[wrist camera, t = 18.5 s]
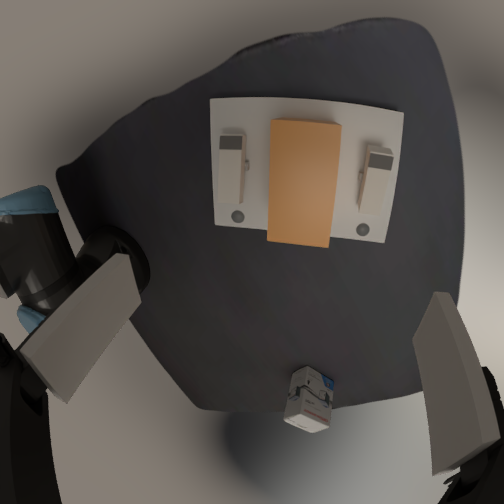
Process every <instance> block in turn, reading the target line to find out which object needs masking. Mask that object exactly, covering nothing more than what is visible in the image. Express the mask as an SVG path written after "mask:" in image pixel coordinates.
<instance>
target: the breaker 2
mask: <svg viewBox="0 0 504 504" xmlns="http://www.w3.org/2000/svg"><path fill="white" fill-rule="evenodd" d="M393 159H394V154H393V153H392V151H391V149H390V148H385V147H379V146H373V145H368V148H367V154H366V161H365V167H364V173H363V178H362V184H361V189H360V194H359V199H358V204H357V205H358V211H359V213H361V214H369V215H376V216H380V212H381V208H382V204H383V201H384V197H385V193H386V189H387V184H388V180H389V176H390V171H391V169H392V164H393Z"/></svg>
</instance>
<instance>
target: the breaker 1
mask: <svg viewBox="0 0 504 504" xmlns="http://www.w3.org/2000/svg"><path fill="white" fill-rule="evenodd" d="M219 149H220V151H219V173H218V201H217V203H232V204H240V203H243V192H244V171H245V152H246V136H245V135H243V134H220V143H219Z"/></svg>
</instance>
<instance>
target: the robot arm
mask: <svg viewBox="0 0 504 504" xmlns="http://www.w3.org/2000/svg"><path fill="white" fill-rule="evenodd" d="M58 212H59V210H58V209H57V208H56V206H55V203H54V200H53V198H52V195H51V192H50V190H49V189H48V188H47V187H45V186H43V185H38V186H34V187H31V188H28V189H25V190H22V191H19V192H16V193H13V194H11V195H8V196H5V197H3V198H0V297H2V298H6V299H7V298H9V297H10V296H11V295H13V294H14V293H16V294H17V295H18V297H19V299H20V301H21V303H22V305H20V306H19V308H18V310H17V316H18V318H19V321H20V322H21V324H22V325H23V327H24V328H25V329H26V331H27V332H28V333H29V335H28V336H27V338H26V339H25V340H24V341H23V342H22V343H21V345H20V346H19V347H18V348H17V349H16V350H13V348H12V347H11V345H10V344H9V342H8V341H7V339H6V338H5V336H4V334H2V333H0V504H62V502H61V498H60V494H59V489H58V484H57V480H56V474H55V468H54V462H53V456H52V448H51V439H50V427H49V410H48V395H47V392H46V389H47V388H48V389H49V390H50V391H51V392H52V393H53V394H54V396H56V397H57V398H59V399H60V400H62V401H63V402H65V403H66V404H67V403H68V401H69V400H70V398H71V397H72V396H73V394H74V393H75V391H76V389H77V388H78V387H79V385H80V384H81V382H82V381H83V380H84V378H85V377H86V375H87V374H88V372H89V371H90V370H91V368H92V367H93V366H94V364H95V363H96V361H97V360H98V358H99V357H100V356H101V354H102V353H103V352H104V350H105V349H106V348H107V346H108V345H109V344H110V342H111V341H112V339H113V338H114V337H115V335H116V334H117V333H118V332H119V330H120V329H121V328H122V326H123V325H124V324H125V323H126V321H127V320H128V319H129V317H130V316H131V315H132V314H133V312H134V311H135V310H136V308H137V307H138V306H139V305H140V303H141V299H140V296H139V295H140V294H141V293H142V291H143V290H144V289H145V288H146V287H147V285H148V283H149V279H150V270H149V265H148V262H147V259H146V257H145V255H144V253H143V251H142V250H141V248H140V247H139V245H138V244H137V243H136V242H135V241H134V240H133V239H132V238H131V237H130V236H129V235H128V234H127V233H125V232H124V231H122V230H120V229H118V228H115V227H111V226H104V227H101V228H99V229H97V230H96V231H94V232H93V233H92V234H90V235H89V236H88V238H87V239H86V241H85V243H84V245H83V246H82V248H81V250H80V251H79V253H78V254H77V256H76V258H75V256H74V254H73V251H72V249H71V246H70V244H69V241H68V239H67V236H66V233H65V231H64V228H63V225H62V223H61V220H60V217H59V214H58ZM412 341H413V345H414V349H415V353H416V358H417V362H418V367H419V371H420V376H421V381H422V387H423V392H424V398H425V404H426V410H427V418H428V425H429V434H430V444H431V456H432V457H431V458H432V476H435V475H440V474H444V473H449V472H451V471H453V470H455V469H456V468H458V467H459V466H460V472H459V473H457V474H455V475H453V476H452V477H450V478H448V479H447V480H446V481H445V482H444V483H443V484H447V483H449V482H451V481H452V483H451V484H450V485H448V487H449V488H448V489H447V491H446V492H445V494H444V495H443V497H442V498H441V500H440V501H439V503H438V504H504V408H503V405H502V401H500V398H501V397H500V394H499V391H497V389H498V388H497V385H496V382H495V379H494V376H493V375H492V374H491V372H490V371H489V369H488V368H487V367H481V365H480V362H479V359H478V357H477V354H476V352H475V349H474V346H473V344H472V341H471V339H470V337H469V334H468V332H467V330H466V327H465V325H464V323H463V321H462V318H461V316H460V314H459V312H458V310H457V308H456V306H455V304H454V302H453V300H452V298H451V296H450V294H449V293H445V292H434V294H433V296H432V299H431V301H430V303H429V306H428V308H427V310H426V312H425V314H424V316H423V319H422V321H421V323H420V325H419V327H418V329H417V331H416V333H415V335H414V337H413V339H412Z"/></svg>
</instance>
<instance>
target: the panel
mask: <svg viewBox="0 0 504 504" xmlns="http://www.w3.org/2000/svg"><path fill="white" fill-rule="evenodd" d="M280 117H285V118H301V119H313V120H323V121H332V122H336V123H338V124H340V125H342V130H341V144H340V156H339V166H338V176H337V186H336V194H335V203H334V211H333V218H332V225H331V232H330V237H339V238H348V239H356V240H364V241H372V242H380V243H384V241H385V237H386V233H387V228H388V223H389V219H390V214H391V209H392V203H393V198H394V192H395V186H396V180H397V173H398V166H399V158H400V150H401V141H402V130H403V117H404V113H402V112H397V111H392V110H387V109H382V108H376V107H370V106H364V105H358V104H351V103H343V102H335V101H325V100H314V99H299V98H276V97H240V98H216V99H210V125H211V155H212V179H213V199H214V216H215V225H221V226H233V227H243V228H254V229H264V230H268V201H269V167H270V124H271V119H276V118H280ZM220 134H243V135H245V136H246V152H245V171H244V192H243V203H240V204H232V203H217V201H218V173H219V151H220V149H219V143H220ZM368 145H373V146H379V147H385V148H390V149H391V151H392V153H393V154H394V159H393V164H392V169H391V171H390V176H389V180H388V184H387V189H386V193H385V197H384V201H383V204H382V208H381V212H380V216H376V215H369V214H361V213H359V211H358V205H357V204H358V199H359V194H360V189H361V184H362V178H363V173H364V167H365V161H366V154H367V148H368Z"/></svg>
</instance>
